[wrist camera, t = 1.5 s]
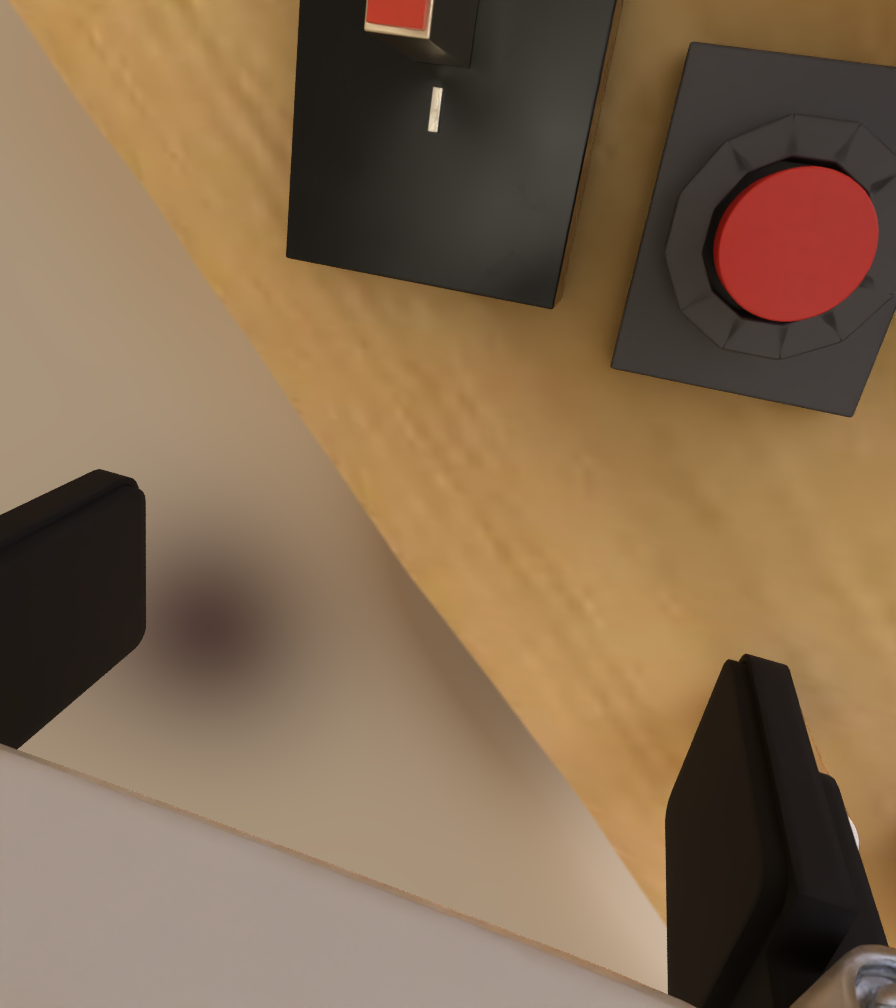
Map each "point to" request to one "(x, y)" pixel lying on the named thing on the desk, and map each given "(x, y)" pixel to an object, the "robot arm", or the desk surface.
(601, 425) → the desk surface
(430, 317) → the desk surface
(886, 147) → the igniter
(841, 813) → the robot arm
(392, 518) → the desk surface
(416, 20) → the knob
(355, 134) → the black lever switch base
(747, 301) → the button
